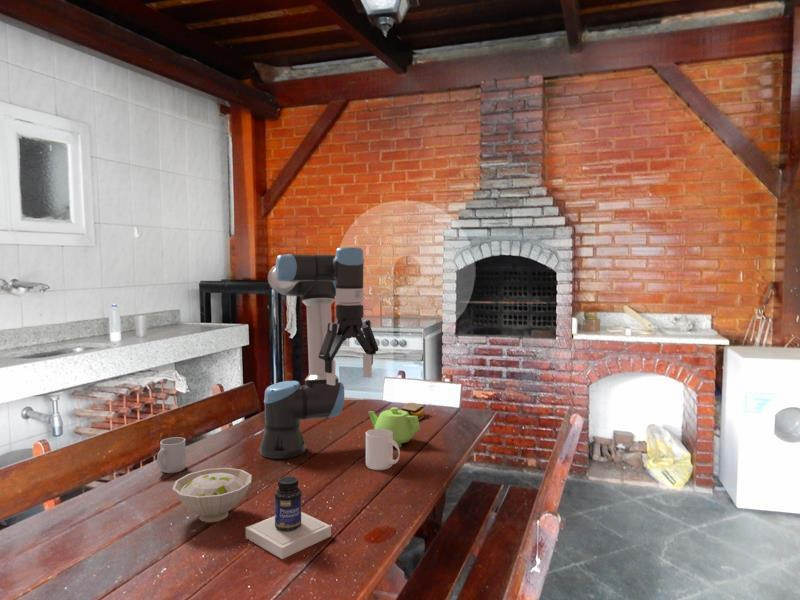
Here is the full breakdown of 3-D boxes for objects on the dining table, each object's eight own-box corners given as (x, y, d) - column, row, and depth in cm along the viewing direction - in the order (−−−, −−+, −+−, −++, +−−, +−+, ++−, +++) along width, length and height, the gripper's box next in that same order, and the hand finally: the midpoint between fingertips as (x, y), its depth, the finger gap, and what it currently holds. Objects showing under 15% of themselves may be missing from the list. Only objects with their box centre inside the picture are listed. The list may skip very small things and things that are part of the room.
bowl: (208, 541, 129) (207, 499, 129) (156, 521, 140) (155, 481, 139) (269, 510, 146) (268, 472, 145) (218, 494, 156) (217, 458, 155)
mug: (391, 475, 170) (391, 440, 170) (360, 467, 177) (360, 433, 176) (406, 466, 178) (407, 433, 177) (376, 459, 184) (376, 427, 184)
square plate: (245, 537, 131) (245, 526, 131) (294, 517, 142) (294, 507, 141) (281, 559, 122) (281, 547, 122) (330, 536, 132) (330, 525, 132)
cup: (190, 466, 177) (190, 438, 176) (167, 478, 167) (167, 448, 167) (172, 463, 179) (171, 436, 178) (148, 474, 170) (147, 445, 169)
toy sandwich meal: (387, 418, 234) (388, 406, 233) (409, 411, 244) (409, 401, 243) (410, 424, 225) (410, 412, 225) (431, 417, 235) (431, 406, 235)
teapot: (360, 443, 200) (360, 408, 199) (378, 433, 212) (378, 400, 211) (411, 452, 191) (411, 415, 190) (426, 441, 203) (427, 406, 202)
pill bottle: (278, 534, 128) (278, 486, 127) (271, 522, 133) (271, 477, 132) (304, 528, 130) (304, 482, 130) (297, 517, 136) (296, 473, 135)
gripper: (323, 307, 142) (323, 390, 143) (390, 302, 160) (390, 375, 162) (304, 305, 147) (305, 385, 148) (372, 301, 165) (372, 372, 167)
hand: (349, 380), depth 155 cm, fingers open, 13 cm apart
